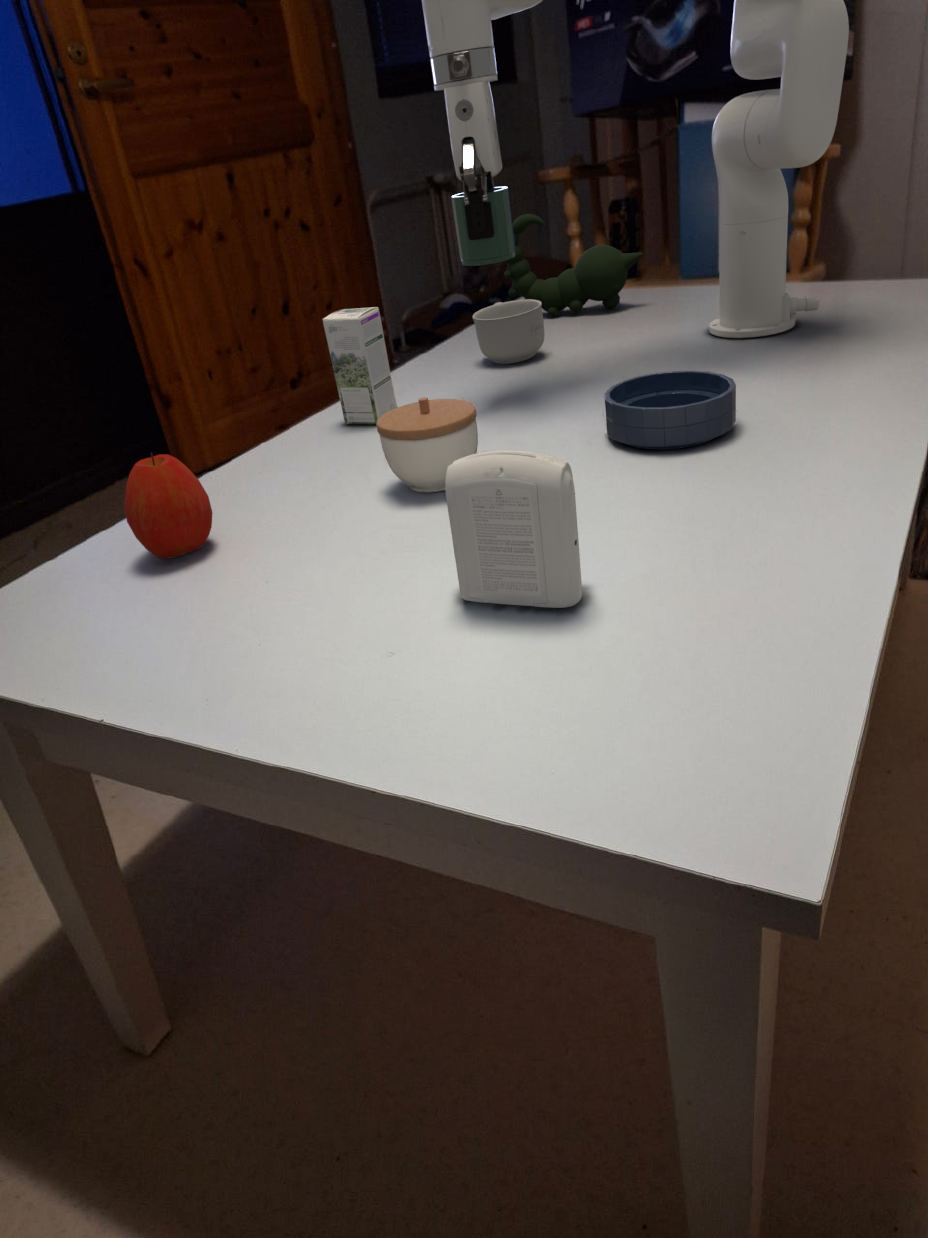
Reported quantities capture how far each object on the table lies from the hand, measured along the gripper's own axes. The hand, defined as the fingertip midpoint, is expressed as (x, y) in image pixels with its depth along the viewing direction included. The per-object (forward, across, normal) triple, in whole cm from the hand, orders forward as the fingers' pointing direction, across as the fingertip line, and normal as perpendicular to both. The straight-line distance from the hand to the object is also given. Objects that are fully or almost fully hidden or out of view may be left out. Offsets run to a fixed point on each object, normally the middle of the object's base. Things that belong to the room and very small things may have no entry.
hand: (485, 232), depth 113 cm
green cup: (+3, 0, 0) cm, 3 cm away
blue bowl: (+21, -21, -21) cm, 36 cm away
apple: (+21, -43, +30) cm, 57 cm away
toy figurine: (+22, +51, -9) cm, 56 cm away
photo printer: (+21, -58, -6) cm, 62 cm away
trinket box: (+21, -30, +5) cm, 37 cm away
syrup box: (+21, -3, +19) cm, 29 cm away
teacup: (+22, +23, +1) cm, 32 cm away
